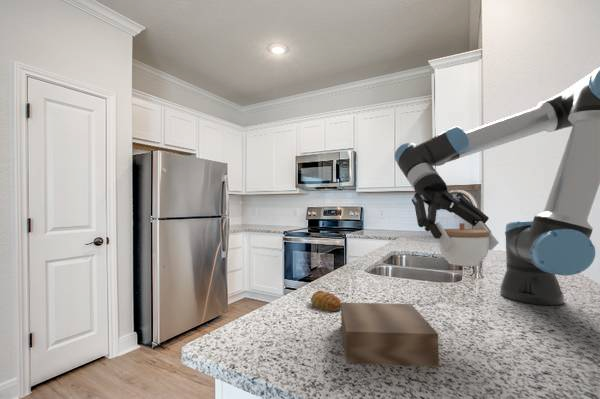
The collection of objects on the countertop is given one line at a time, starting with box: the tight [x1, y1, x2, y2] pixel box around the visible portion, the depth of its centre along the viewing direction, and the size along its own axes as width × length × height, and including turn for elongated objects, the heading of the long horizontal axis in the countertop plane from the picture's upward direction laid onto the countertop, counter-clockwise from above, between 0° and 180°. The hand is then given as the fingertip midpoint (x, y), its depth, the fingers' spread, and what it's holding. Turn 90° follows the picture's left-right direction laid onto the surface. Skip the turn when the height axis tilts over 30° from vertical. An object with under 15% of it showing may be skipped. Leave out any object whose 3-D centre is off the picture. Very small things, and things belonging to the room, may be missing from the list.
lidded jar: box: [437, 222, 490, 267], centre depth 68 cm, size 11×11×9 cm
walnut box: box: [340, 302, 440, 368], centre depth 60 cm, size 16×16×6 cm
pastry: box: [310, 290, 342, 312], centre depth 82 cm, size 9×7×4 cm
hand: (472, 247), depth 65 cm, fingers closed on lidded jar, 11 cm apart
